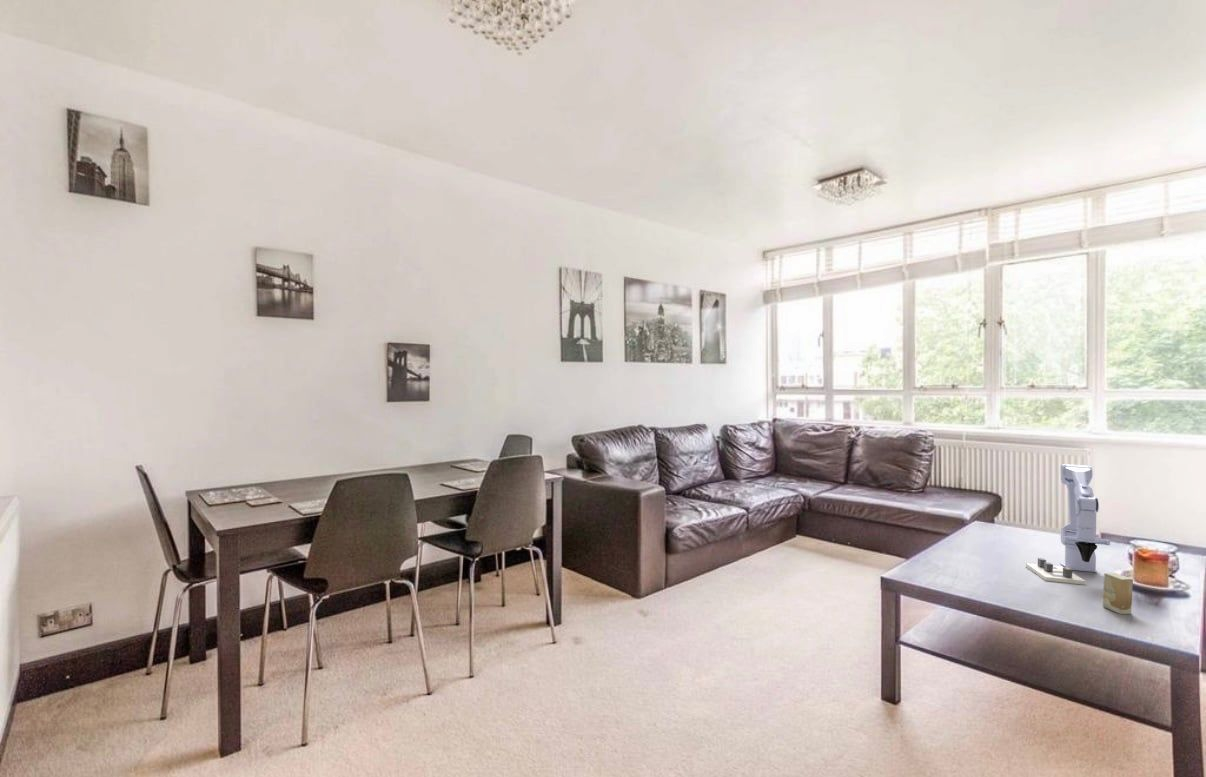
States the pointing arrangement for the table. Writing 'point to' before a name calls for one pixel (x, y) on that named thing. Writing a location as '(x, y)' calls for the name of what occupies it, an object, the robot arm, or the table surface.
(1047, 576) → the breaker panel
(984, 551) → the table surface
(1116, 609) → the skincare box
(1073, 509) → the robot arm
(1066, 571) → the breaker
